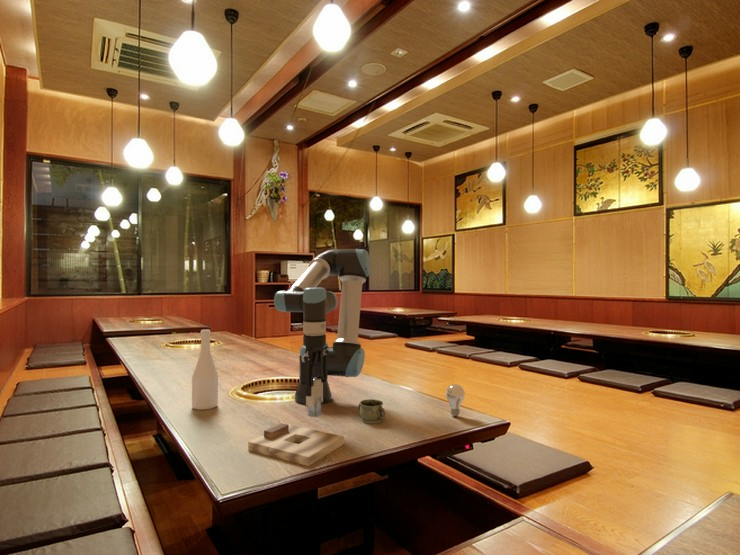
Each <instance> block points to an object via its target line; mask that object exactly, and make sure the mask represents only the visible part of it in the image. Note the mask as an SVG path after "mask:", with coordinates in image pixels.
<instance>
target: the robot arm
mask: <svg viewBox="0 0 740 555" xmlns="http://www.w3.org/2000/svg"><path fill="white" fill-rule="evenodd" d="M371 274H372V263H371V257H370V254H369V252H368V251H367V249H360V248H332V249H328V250H325V251H323V252H321V253H320V254H318V255H316V256H315V257H314V258H313V259H312V260H311V261H310V262H309V264H308V268H307V269H305V271H304V272H303V273H302V274H301V275H300V276H299V277H298V278H297V280H295V282H294V283H293V284H291V286H289V288H288V289H287V290H285V289H284V290H279V291H276V292H275V294H274V298H273V305H274V308H275V310H277V311H279V312H285V313H303V320H302V321H303V322H302V328H303V329H302V333H303V337H302V338H303V339H302V341H303V343H302V344H303V345H302V346H301V347H300V349H299V361H298V362H299V367H298V369H299V375H298V376H299V379H298V380H299V381H298V385H297V387H296V390H295V394H294V401H295V402H297V403H298V404H304V405H305V406H307V407H308V406H314V386H312V384H313V378H314V377H317V378H321V405H322V404H326V403H328V402H331V401H332V397H333V396H332V392H331V389H330V384H329V382H328V381H329V380H328V377H330V376H331V377H341V378H342V377H345V378H355V377H358V376H359V375H360V374H361V372H362V370H363V367H364V363H365V358H366V357H365V353H366V351H365V349H364V348H362V344H361V343H360V341H359V339H358V338H359V328H360V315H361V302H362V292H363V291H362V290H363V284H364V283H366V281H367V277H371ZM331 276H332V277H333V276H336V277H337V276H338V280H340V282H341V291H340V292H341V293H340V302H339V298H338V297H337V296H338V295H336V293H334V292H333V291H330V290H327V289H326V288H325V287H321V286H320V287H318V286H319V284H320V283H321V282H322V281H323V280H326V279H327V278H328V277H331ZM339 303H340V305H339V315H338V325H337V336H336V339H335V340H334V341H333V342H332V346H329V344H328V343H327V335H326V332H327V313H329V314H330V313H331V312H333V311H334V310H335V309H336V308H337V307H338V304H339Z"/></svg>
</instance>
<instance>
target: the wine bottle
mask: <svg viewBox="0 0 740 555" xmlns="http://www.w3.org/2000/svg"><path fill="white" fill-rule="evenodd" d="M218 403H219V373H218V370H217V368H216V365H215V362H214V359H213V356H212V353H211V330H210V329H201V330H200V353H199V356H198V359H197V361H196V365H195V368H194V370H193V373H192V377H191V407H192V409H193V410H198V411H204V410H205V411H206V410H210V409H214V408H216V407H217V406H218V405H219V404H218Z"/></svg>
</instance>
